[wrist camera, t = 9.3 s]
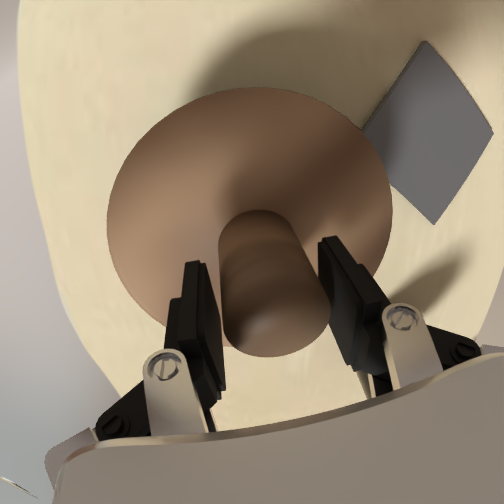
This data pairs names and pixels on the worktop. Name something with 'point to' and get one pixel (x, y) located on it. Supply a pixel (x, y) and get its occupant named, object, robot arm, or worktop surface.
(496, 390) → the robot arm
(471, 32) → the worktop surface
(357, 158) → the walnut lid
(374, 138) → the rubber mat
